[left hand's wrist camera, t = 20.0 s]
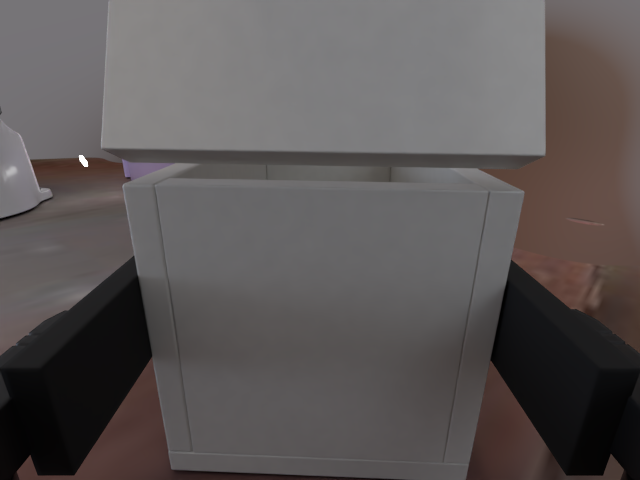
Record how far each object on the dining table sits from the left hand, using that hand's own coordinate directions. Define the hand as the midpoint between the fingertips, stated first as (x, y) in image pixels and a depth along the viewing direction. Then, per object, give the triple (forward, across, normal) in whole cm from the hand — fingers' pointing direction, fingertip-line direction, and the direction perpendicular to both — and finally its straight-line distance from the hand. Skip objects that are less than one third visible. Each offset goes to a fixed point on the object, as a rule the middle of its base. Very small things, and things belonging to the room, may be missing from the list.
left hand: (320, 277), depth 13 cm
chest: (+6, 0, -6) cm, 8 cm away
